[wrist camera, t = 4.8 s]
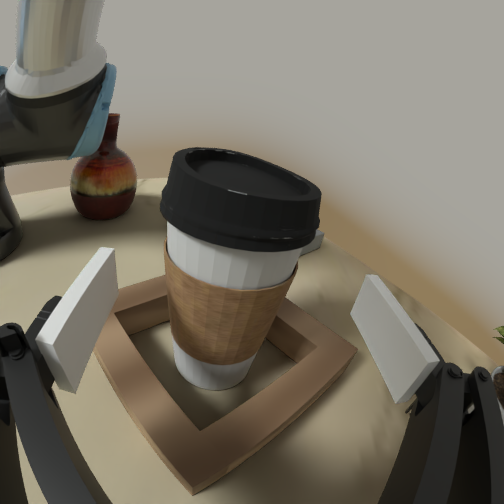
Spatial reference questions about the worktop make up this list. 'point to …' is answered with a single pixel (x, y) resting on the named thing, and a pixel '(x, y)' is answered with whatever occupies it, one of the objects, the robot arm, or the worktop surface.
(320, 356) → the square wooden frame
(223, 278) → the coffee cup
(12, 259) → the worktop surface
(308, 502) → the worktop surface
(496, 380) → the house plant
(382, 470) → the worktop surface
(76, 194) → the vase
